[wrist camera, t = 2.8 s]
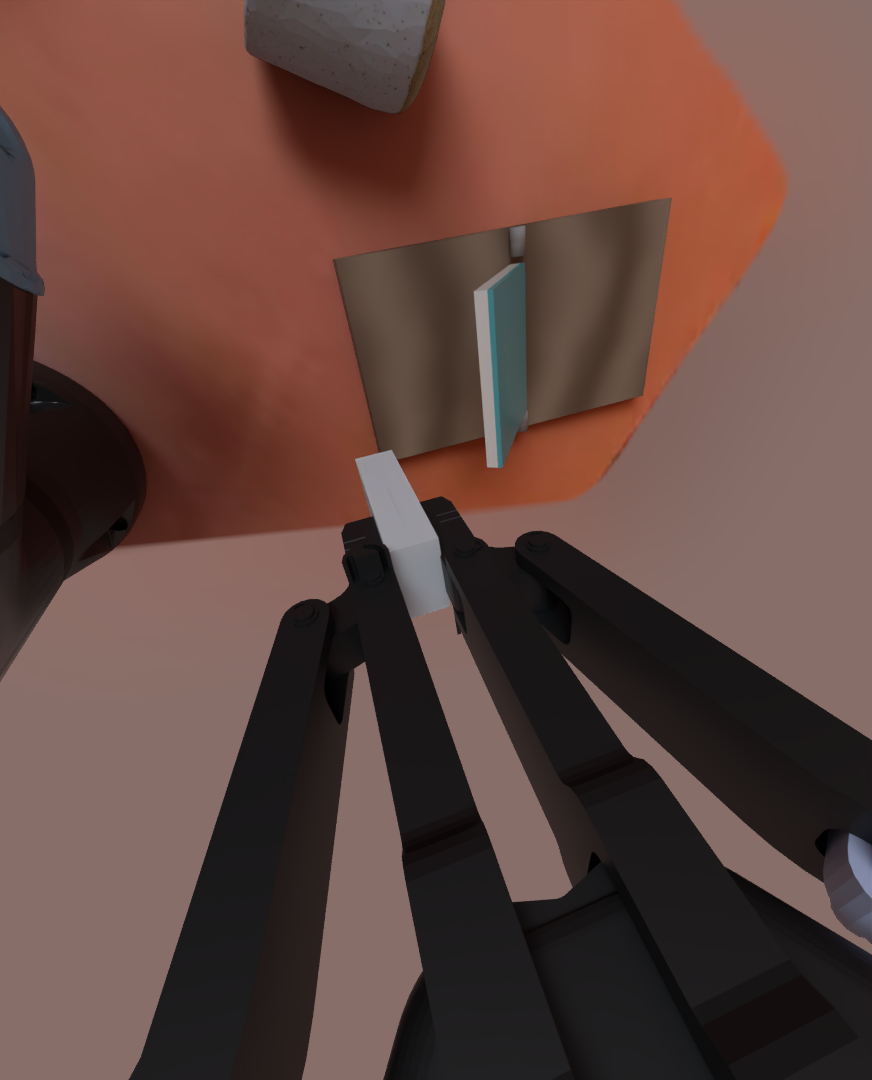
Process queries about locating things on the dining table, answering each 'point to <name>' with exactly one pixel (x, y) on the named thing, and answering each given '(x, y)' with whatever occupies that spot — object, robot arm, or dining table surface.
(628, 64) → the dining table surface
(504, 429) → the tile
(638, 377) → the hinge board
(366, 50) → the ceramic mug
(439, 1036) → the robot arm
